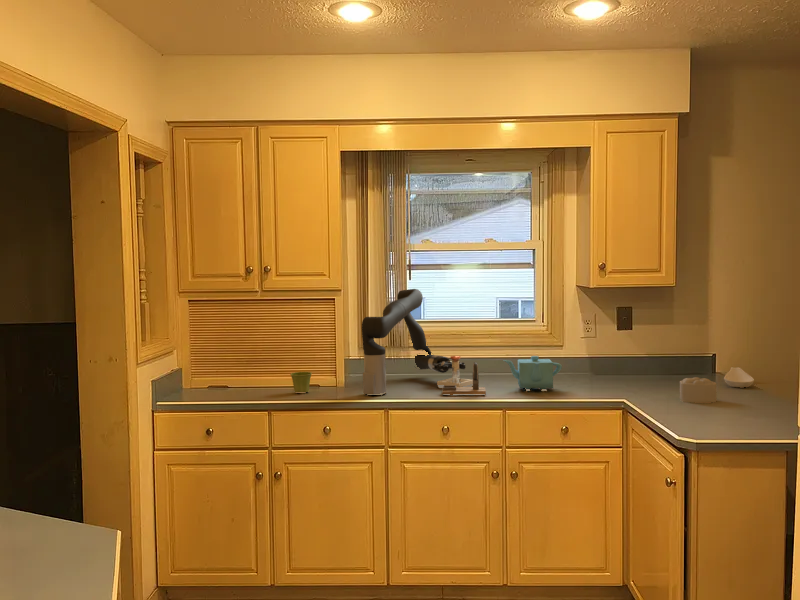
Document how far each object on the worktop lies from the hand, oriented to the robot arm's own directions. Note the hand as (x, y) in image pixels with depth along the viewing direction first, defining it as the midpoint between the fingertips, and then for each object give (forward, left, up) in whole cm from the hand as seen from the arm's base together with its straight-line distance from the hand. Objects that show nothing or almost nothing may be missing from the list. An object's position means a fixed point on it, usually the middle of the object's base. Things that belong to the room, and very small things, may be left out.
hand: (456, 367), depth 320 cm
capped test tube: (0, 0, -8) cm, 8 cm away
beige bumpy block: (+24, -97, -9) cm, 100 cm away
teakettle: (+12, -32, -9) cm, 35 cm away
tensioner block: (-12, -13, -9) cm, 20 cm away
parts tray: (0, 0, -9) cm, 9 cm away
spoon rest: (+71, -99, -9) cm, 122 cm away
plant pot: (-49, +48, -9) cm, 69 cm away
